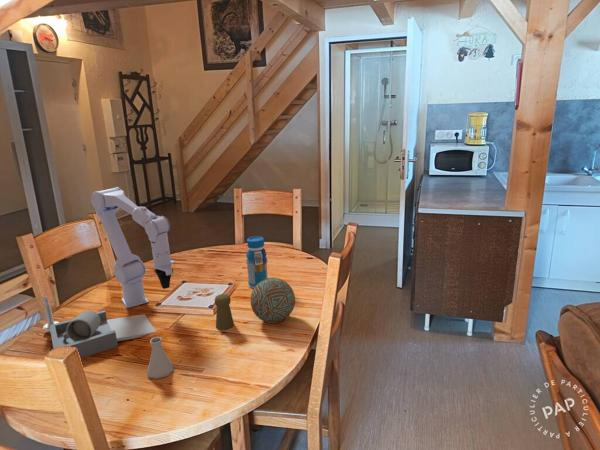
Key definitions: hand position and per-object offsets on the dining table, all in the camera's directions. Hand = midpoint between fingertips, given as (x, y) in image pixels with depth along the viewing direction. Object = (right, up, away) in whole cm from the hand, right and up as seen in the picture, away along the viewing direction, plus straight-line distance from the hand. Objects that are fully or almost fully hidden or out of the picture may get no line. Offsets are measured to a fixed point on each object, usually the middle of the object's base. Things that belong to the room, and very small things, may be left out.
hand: (165, 287), depth 145 cm
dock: (-16, -15, -12) cm, 25 cm away
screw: (-36, -14, -8) cm, 39 cm away
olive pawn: (+23, -12, -8) cm, 27 cm away
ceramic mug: (-21, -13, -16) cm, 30 cm away
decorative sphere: (+39, -10, -6) cm, 41 cm away
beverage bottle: (+31, -2, +23) cm, 38 cm away
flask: (+9, -19, -31) cm, 38 cm away
